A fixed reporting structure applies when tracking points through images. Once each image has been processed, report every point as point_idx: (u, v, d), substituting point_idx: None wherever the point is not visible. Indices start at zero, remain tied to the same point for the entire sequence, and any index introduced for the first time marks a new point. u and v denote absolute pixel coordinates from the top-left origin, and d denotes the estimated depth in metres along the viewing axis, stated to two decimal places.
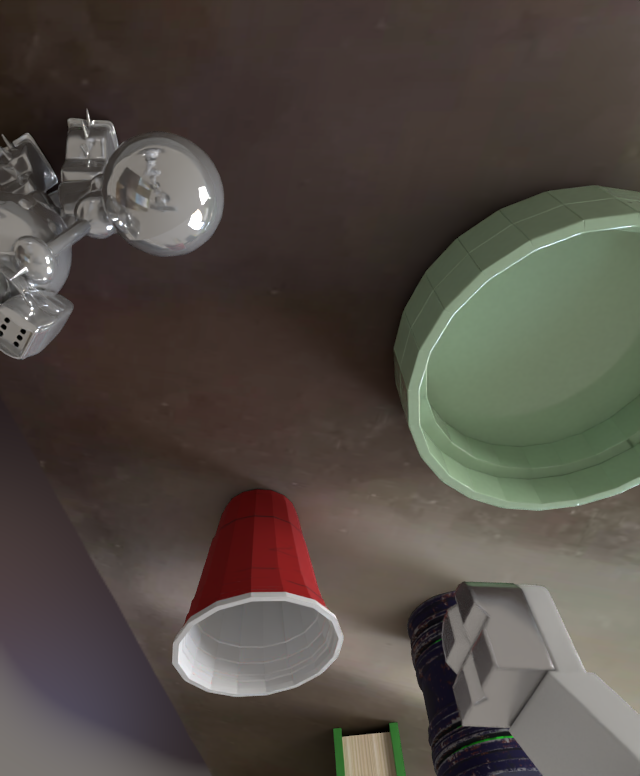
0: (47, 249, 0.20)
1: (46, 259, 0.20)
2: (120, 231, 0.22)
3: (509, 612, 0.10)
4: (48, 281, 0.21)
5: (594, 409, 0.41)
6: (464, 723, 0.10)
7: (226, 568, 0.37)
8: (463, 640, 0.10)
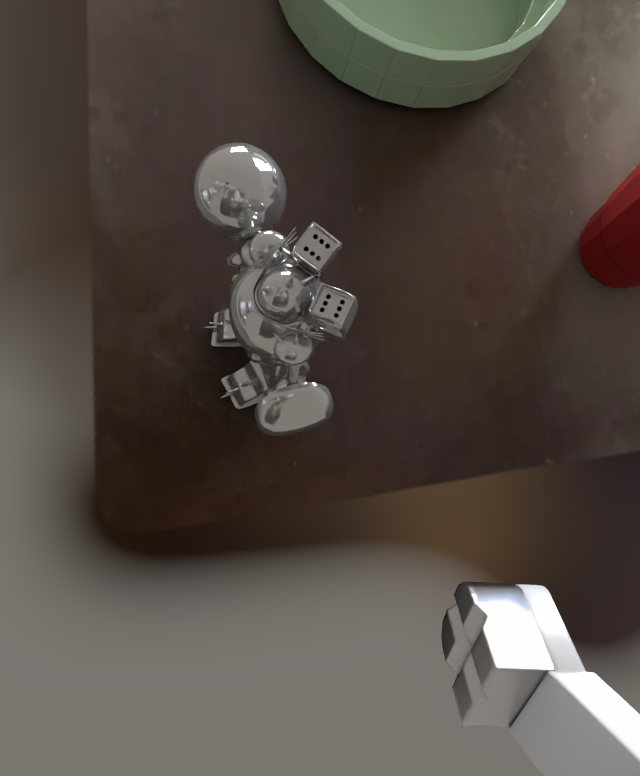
0: (258, 233, 0.25)
1: (265, 231, 0.25)
2: (258, 210, 0.28)
3: (509, 612, 0.10)
4: None
5: None
6: (464, 723, 0.10)
7: None
8: (462, 640, 0.10)
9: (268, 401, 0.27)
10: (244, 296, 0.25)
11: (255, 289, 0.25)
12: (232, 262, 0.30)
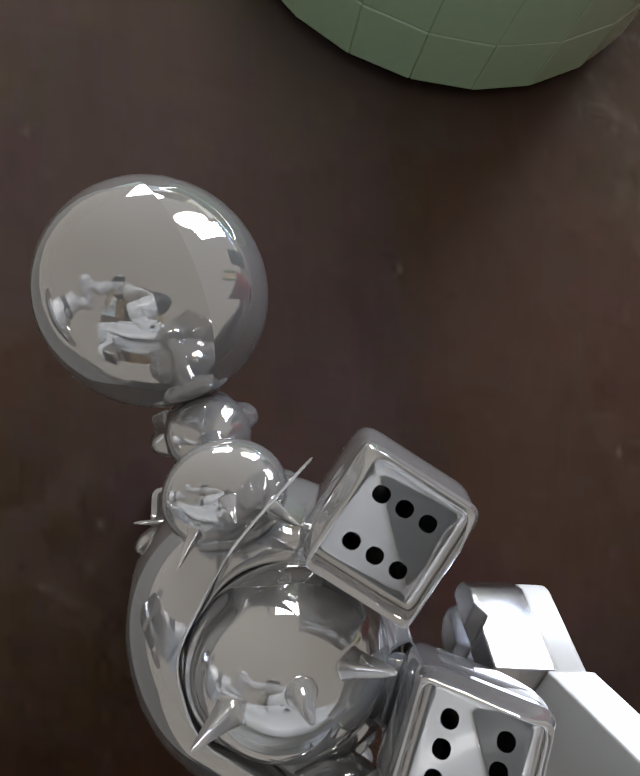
0: (189, 451, 0.08)
1: (207, 448, 0.08)
2: (197, 345, 0.10)
3: (509, 612, 0.10)
4: (271, 458, 0.08)
5: None
6: None
7: None
8: (463, 640, 0.10)
9: None
10: (158, 649, 0.08)
11: (186, 655, 0.07)
12: (154, 450, 0.13)
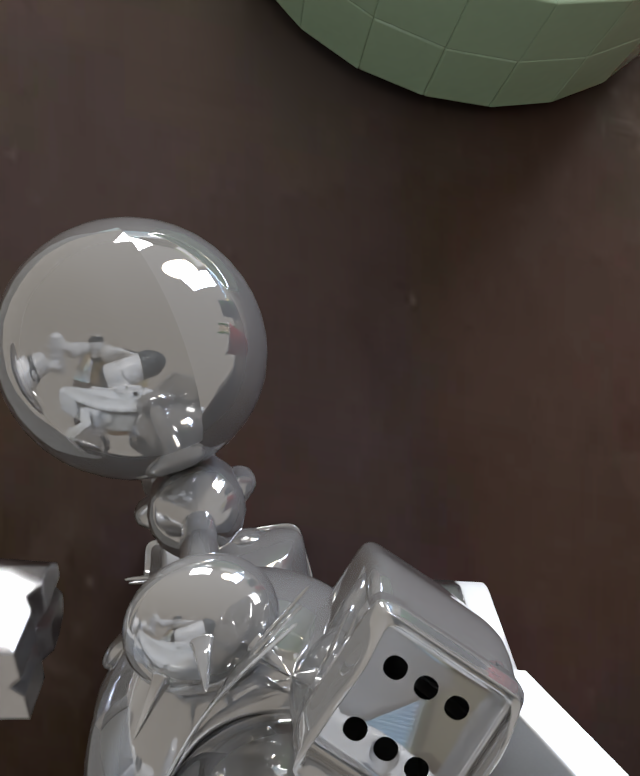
0: (158, 570, 0.07)
1: (178, 572, 0.06)
2: (181, 418, 0.09)
3: None
4: (259, 581, 0.07)
5: None
6: None
7: None
8: None
9: None
10: None
11: None
12: (138, 522, 0.11)
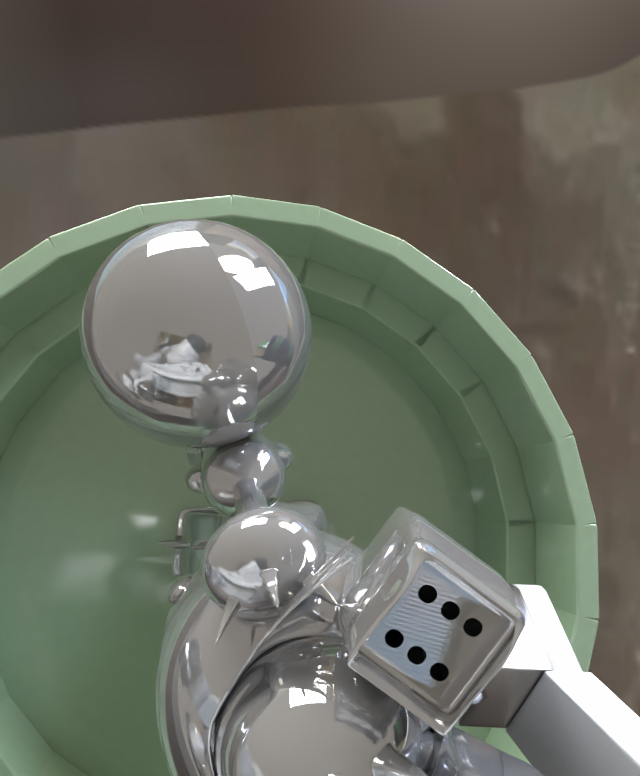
0: (231, 517, 0.08)
1: (250, 519, 0.08)
2: (241, 397, 0.10)
3: None
4: (313, 531, 0.08)
5: (380, 399, 0.22)
6: (461, 723, 0.10)
7: None
8: None
9: None
10: (188, 713, 0.08)
11: (218, 728, 0.07)
12: (189, 486, 0.13)
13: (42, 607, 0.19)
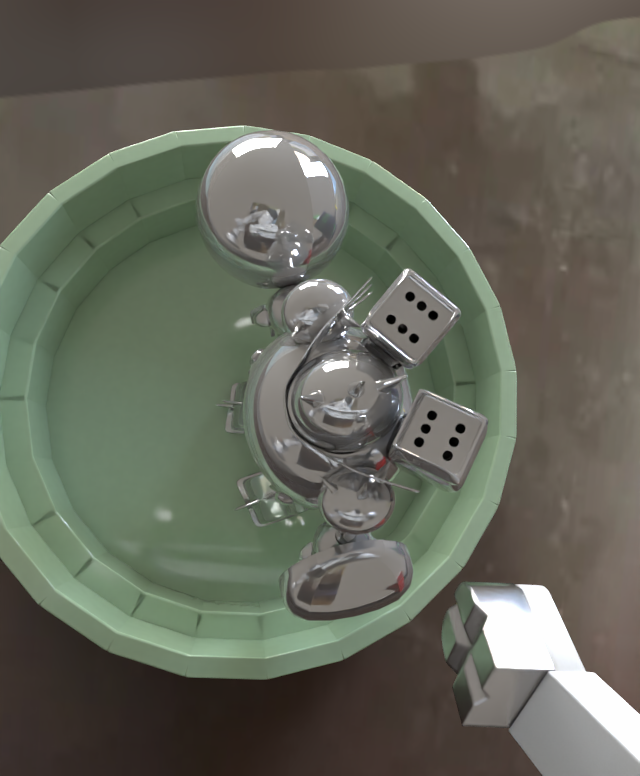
0: None
1: (312, 280, 0.14)
2: (302, 241, 0.16)
3: (509, 612, 0.10)
4: (347, 293, 0.14)
5: (359, 298, 0.27)
6: (464, 724, 0.10)
7: None
8: (462, 640, 0.10)
9: (303, 572, 0.16)
10: (268, 395, 0.14)
11: (289, 388, 0.13)
12: (256, 322, 0.19)
13: (97, 446, 0.25)
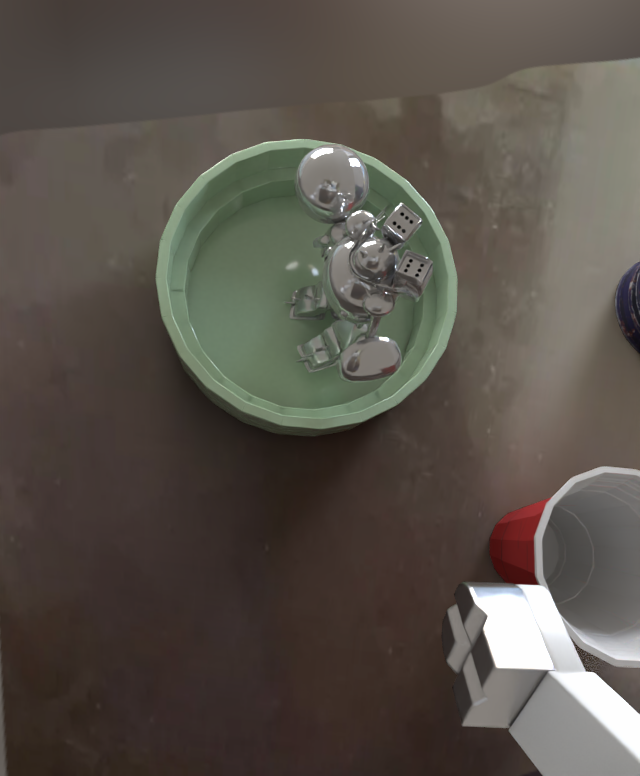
0: (353, 212, 0.32)
1: (359, 210, 0.32)
2: (349, 197, 0.34)
3: (509, 612, 0.10)
4: None
5: None
6: (464, 723, 0.10)
7: None
8: (462, 640, 0.10)
9: (351, 350, 0.34)
10: (339, 261, 0.32)
11: (350, 255, 0.31)
12: (321, 241, 0.37)
13: (216, 325, 0.42)
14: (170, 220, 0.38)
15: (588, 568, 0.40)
